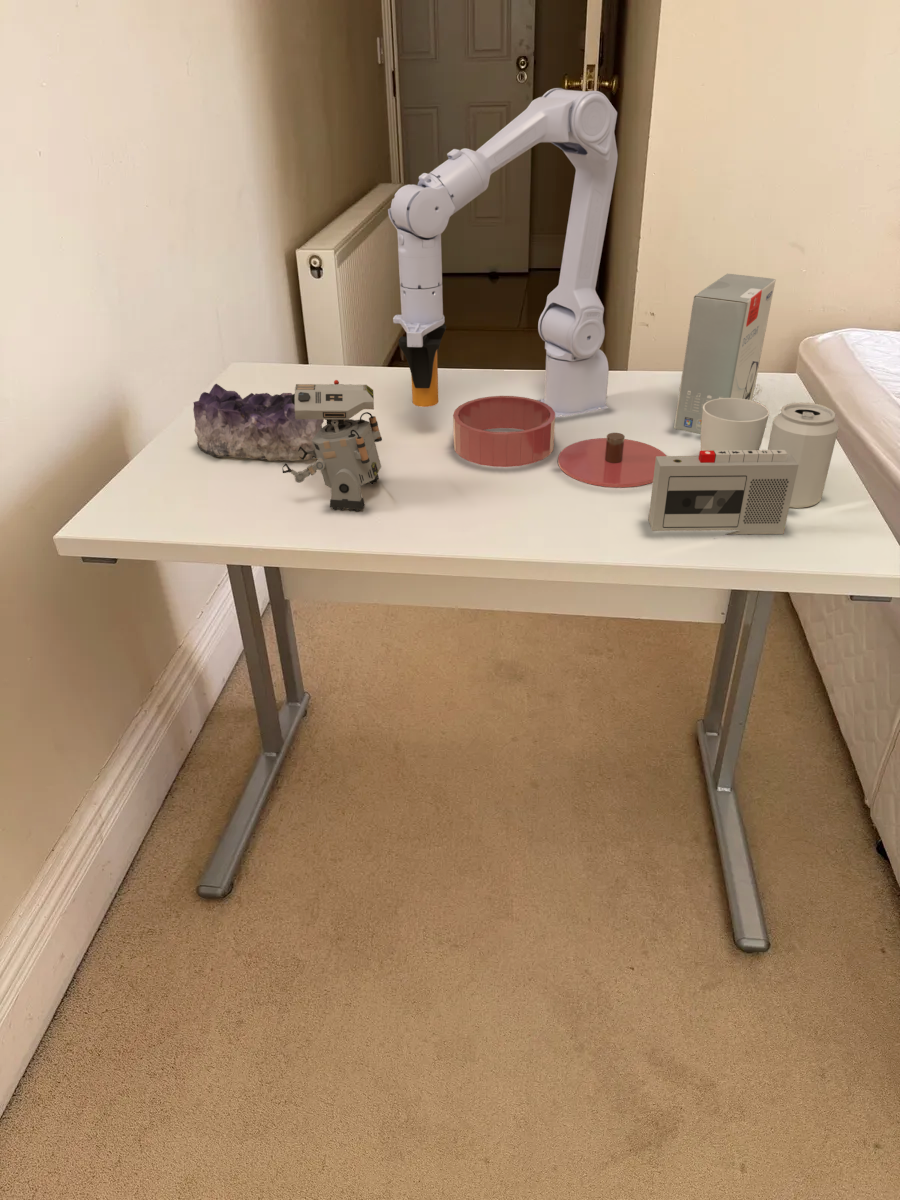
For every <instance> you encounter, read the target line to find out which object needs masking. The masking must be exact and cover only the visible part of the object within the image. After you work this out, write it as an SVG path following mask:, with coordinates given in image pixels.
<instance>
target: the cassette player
mask: <svg viewBox="0 0 900 1200" xmlns="http://www.w3.org/2000/svg"><path fill="white" fill-rule="evenodd" d="M797 470H798V463H797V462H796V460H795V459H794V458H793V456H792V455H787V452H786V451H785V450H768V449H759V450H720V451H701V450H699V453H698V455H666V456H656V461H655V469H654V477H653V482H652V487H651V496H650V502H649V513H648V523H649V526H650V529H651V532H690V531H691V532H692V531H693V532H694V531H695V532H698V531H700V532H702V531H707V532H708V531H709V532H710V531H719V532H720V531H731V532H727V533H726V535H784V533H785V529H786V524H787V520H788V515H789V511H790V508H789V506H790V502H791V497H792V493H793V488H794V484H795V479H796V475H797Z"/></svg>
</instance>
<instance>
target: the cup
mask: <svg viewBox="0 0 900 1200" xmlns="http://www.w3.org/2000/svg"><path fill="white" fill-rule="evenodd" d="M769 416H770V409H769V408H768V407H767V406H765V405H764V404H762V403H760V402H758V401H754V400H752V401H751V400H747V399H740V398H719V399H714V400H711V401H708V402H706V403H705V404H704V405H703V413H702V425H701V434H700V437H699V438H700V451H720V450H760V448H761V446H762V442H763V439H764V436H765V435H764V434H765V432H766V427H767V423H768V420H769Z"/></svg>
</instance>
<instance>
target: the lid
mask: <svg viewBox="0 0 900 1200" xmlns="http://www.w3.org/2000/svg"><path fill="white" fill-rule="evenodd" d="M656 456H667V455H666V453H664V452H663V451H662V450H661V449H659V448H657V447H655V446H653V445H651V444H649V443H645V442H642V441H638V440H633V439H627V438H626V437H625V434H623V433H620V432H609V433H608V434H607V435H606V437H597V438H590V439H584V440H579V441H577V442H574V443H571V444H569V445H568V446H566V447H564V448H563V449H561V451H560V452H559V454H558V457H557V463H558V464H557V465H558V467H559V469H560V470H561V471H562V472H563V473H564V474H565V475H567V476H568V477H570V478H572V479H574V480H577V481H579V482H581V483H585V484H588V485H592V486H598V487H604V488H634V487H641V486H646V485H649V484H653V477H654V469H655V461H656Z"/></svg>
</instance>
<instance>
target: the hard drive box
mask: <svg viewBox="0 0 900 1200" xmlns="http://www.w3.org/2000/svg"><path fill="white" fill-rule="evenodd" d="M776 281H777V279H776V278H770V277H763V276H753V275H745V274H735V273H726V274H724V275H722V276H721V277H720V278H718V279H717V280H715V281H714V282H713V283H711V284H709V285H708V286H707V287H705V288H703V289H702V290H701V291H699V292H698V293H697V294H696V293H695V295H694V296H693V300H692V306H691V311H690V318H689V326H688V332H687V340H686V346H685V352H684V359H683V365H682V373H681V378H680V384H679V391H678V398H677V403H676V404H677V405H676V410H675V418H674V423H673V424H674V425H673V429H675V430H677V431H683V432H688V433H693V434H698V435H701V425H702V413H703V405H704V404H705V403H706V402H708V401H711V400H714V399H719V398H740V399H747V400H751V401H754V400H753V399H754V393H755V389H756V385H757V378H758V374H759V368H760V363H761V357H762V352H763V346H764V341H765V337H766V331H767V326H768V320H769V315H770V310H771V305H772V299H773V295H774V290H775V285H776Z"/></svg>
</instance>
